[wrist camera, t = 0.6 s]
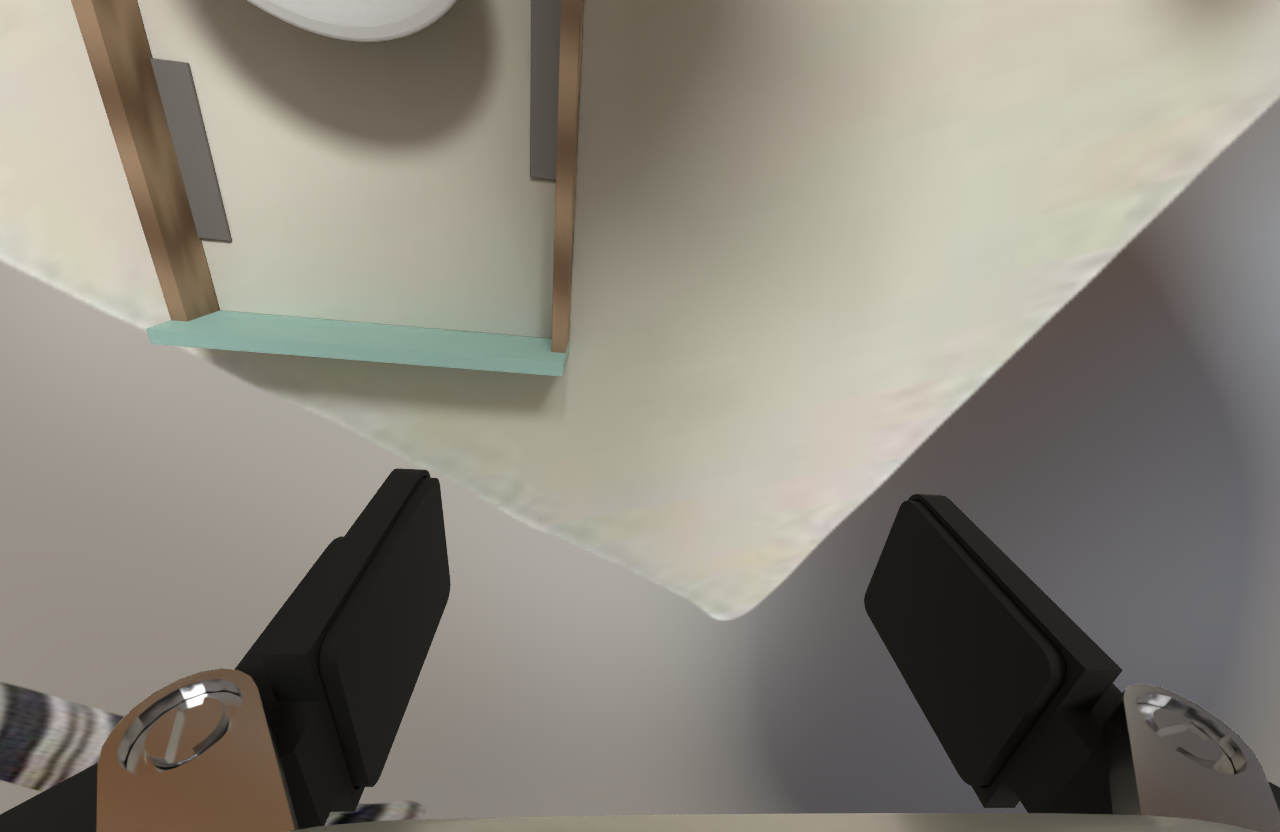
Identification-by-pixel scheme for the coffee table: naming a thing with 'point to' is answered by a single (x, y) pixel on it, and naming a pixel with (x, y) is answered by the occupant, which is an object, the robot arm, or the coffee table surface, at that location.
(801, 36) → the coffee table surface
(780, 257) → the coffee table surface
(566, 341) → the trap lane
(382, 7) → the dish
